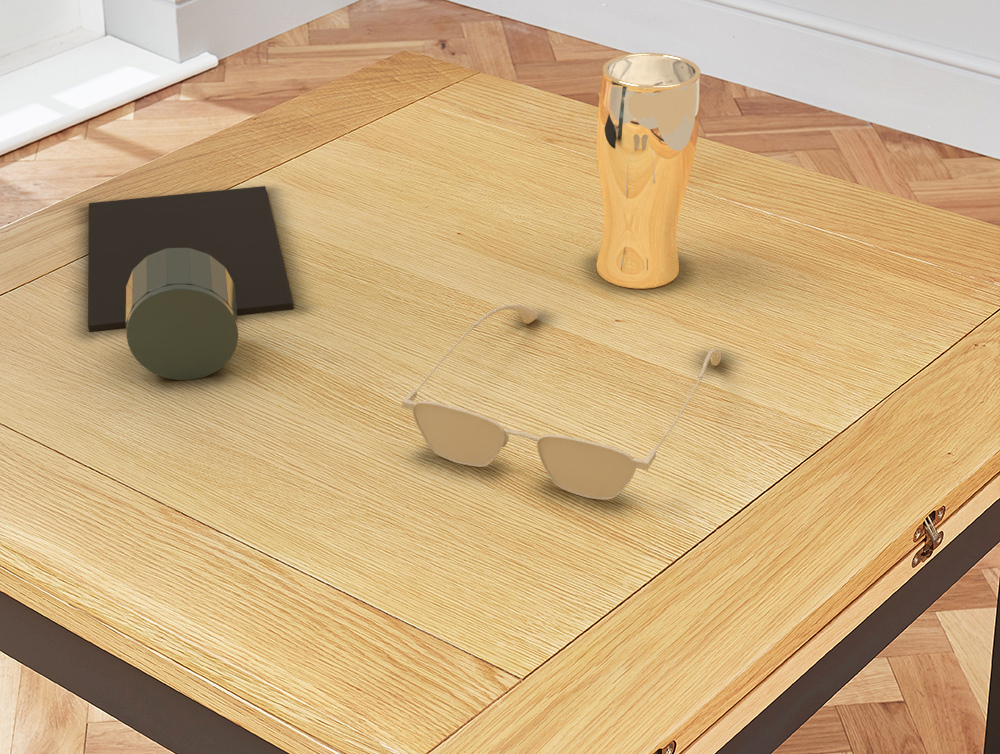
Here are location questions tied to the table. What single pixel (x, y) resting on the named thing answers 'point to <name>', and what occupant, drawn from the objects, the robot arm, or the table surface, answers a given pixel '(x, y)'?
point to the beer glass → (644, 164)
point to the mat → (186, 224)
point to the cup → (181, 314)
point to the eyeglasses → (562, 456)
